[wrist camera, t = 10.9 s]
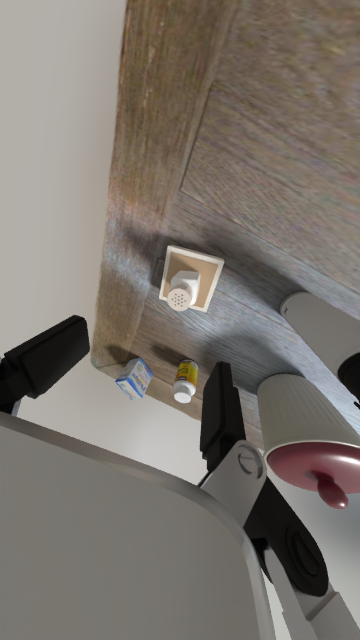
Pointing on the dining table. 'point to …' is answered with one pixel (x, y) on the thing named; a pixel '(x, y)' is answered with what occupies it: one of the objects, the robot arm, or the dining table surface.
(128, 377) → the medicine box
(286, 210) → the dining table surface
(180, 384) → the supplement bottle
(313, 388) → the canister
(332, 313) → the travel mug
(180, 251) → the pedestal
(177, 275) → the salt shaker
